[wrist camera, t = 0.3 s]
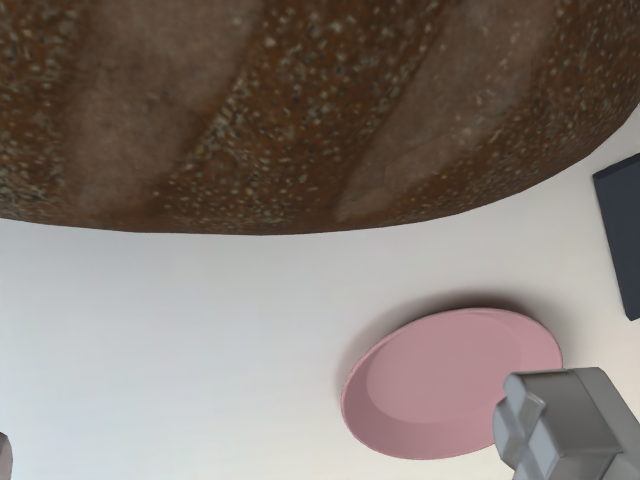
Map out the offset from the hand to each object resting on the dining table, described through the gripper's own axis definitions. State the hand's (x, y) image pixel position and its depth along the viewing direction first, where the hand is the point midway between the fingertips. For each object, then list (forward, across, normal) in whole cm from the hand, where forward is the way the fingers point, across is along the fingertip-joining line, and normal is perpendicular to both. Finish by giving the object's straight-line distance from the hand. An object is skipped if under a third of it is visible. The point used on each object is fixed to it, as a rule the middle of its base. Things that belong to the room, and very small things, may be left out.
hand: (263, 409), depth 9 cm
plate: (+19, -12, +21) cm, 31 cm away
